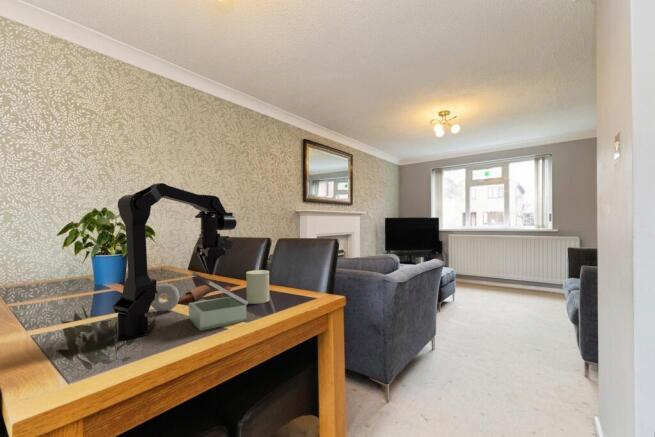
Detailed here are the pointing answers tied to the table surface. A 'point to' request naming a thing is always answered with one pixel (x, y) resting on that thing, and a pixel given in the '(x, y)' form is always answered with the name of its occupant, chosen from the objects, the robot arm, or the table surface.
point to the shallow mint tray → (216, 312)
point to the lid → (220, 288)
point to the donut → (172, 294)
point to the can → (257, 286)
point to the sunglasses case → (194, 295)
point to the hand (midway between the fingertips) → (209, 274)
